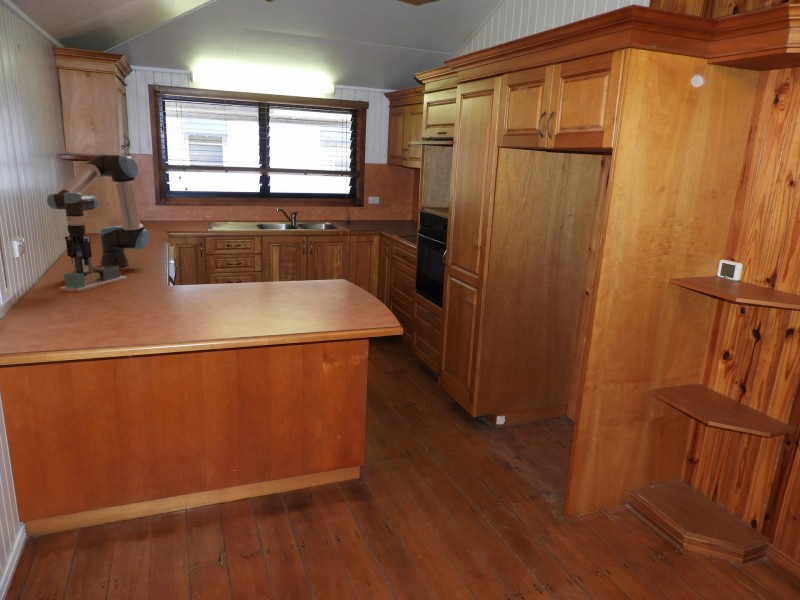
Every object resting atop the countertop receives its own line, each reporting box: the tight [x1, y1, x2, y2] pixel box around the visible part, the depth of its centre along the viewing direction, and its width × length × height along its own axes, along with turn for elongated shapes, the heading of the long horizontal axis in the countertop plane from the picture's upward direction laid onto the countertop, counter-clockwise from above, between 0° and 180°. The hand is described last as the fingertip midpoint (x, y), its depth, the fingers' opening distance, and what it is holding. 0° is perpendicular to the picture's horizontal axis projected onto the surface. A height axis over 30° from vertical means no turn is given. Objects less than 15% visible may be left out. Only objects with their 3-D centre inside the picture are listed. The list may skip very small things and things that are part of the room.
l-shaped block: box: [75, 256, 102, 282], centre depth 284 cm, size 18×3×13 cm, turn 164°
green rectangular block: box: [63, 272, 85, 288], centre depth 278 cm, size 4×8×6 cm, turn 74°
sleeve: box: [93, 265, 121, 281], centre depth 297 cm, size 11×6×6 cm, turn 164°
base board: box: [59, 275, 128, 293], centre depth 290 cm, size 32×12×1 cm, turn 164°
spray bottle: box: [73, 243, 94, 274], centre depth 300 cm, size 9×9×25 cm
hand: (81, 271), depth 281 cm, fingers open, 5 cm apart
